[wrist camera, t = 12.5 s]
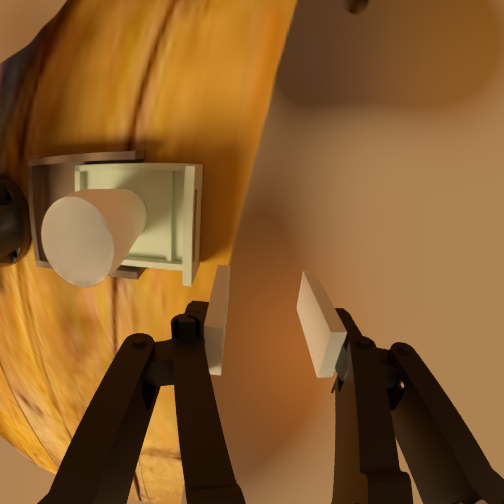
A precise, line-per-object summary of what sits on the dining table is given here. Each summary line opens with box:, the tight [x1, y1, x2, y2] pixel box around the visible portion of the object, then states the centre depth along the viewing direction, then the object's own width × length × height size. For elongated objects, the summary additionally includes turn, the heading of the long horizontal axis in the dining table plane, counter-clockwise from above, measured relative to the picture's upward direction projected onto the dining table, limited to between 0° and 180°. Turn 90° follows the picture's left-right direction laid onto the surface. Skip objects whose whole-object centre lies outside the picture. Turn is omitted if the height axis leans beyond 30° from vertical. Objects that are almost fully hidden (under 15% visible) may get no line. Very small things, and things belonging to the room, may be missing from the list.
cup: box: [41, 189, 147, 287], centre depth 27 cm, size 9×9×12 cm
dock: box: [28, 151, 145, 280], centre depth 32 cm, size 18×16×3 cm
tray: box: [75, 163, 204, 286], centre depth 31 cm, size 17×13×6 cm
